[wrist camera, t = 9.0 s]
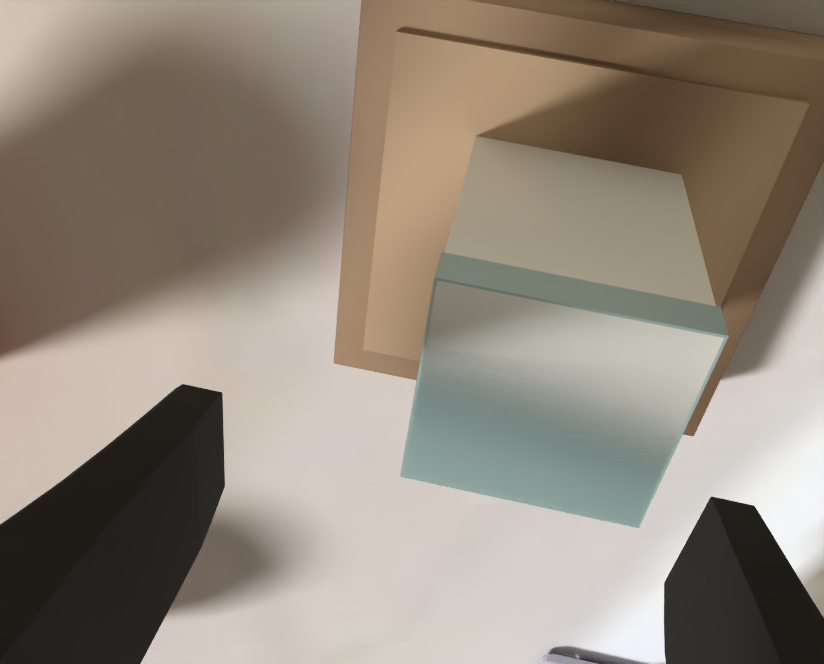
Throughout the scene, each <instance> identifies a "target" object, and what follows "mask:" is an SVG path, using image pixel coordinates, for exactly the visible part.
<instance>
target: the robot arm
mask: <svg viewBox="0 0 824 664" xmlns="http://www.w3.org/2000/svg"><path fill="white" fill-rule="evenodd" d="M224 487H225V477H224V440H223V402H222V392H217V391H212V390H208V389H203V388H198V387H194V386H189V385H184V384H182V385H181V386H179V387H177V388H176V389H174V390H173V391H172V392H171V393H170V394H169V395H167V396H166V397H165V398H164V399H163V400H161V401H160V402H159V403H158V404H157V405H156V406H154V407H153V408H152V409H151V410H150V411H148V412H147V413H146V414H145V415H144V416H143V417H141V418H140V419H139V420H138V421H137V422H135V423H134V424H133V425H132V426H131V427H129V428H128V429H127V430H126V431H124V432H123V433H122V434H121V435H120V436H118V437H117V438H116V439H115V440H113V441H112V442H111V443H110V444H109V445H107V446H106V447H105V448H103V449H102V450H101V451H100V452H98V453H97V454H96V455H94V456H93V457H92V458H91V459H89V460H88V461H87V462H86V463H84V464H83V465H82V466H80V467H79V468H78V469H77V470H75V471H74V472H73V473H71V474H70V475H69V476H68V477H66V478H65V479H64V480H62V481H61V482H60V483H58V484H57V485H56V486H54V487H53V488H51V489H50V490H49V491H47V492H46V493H44V494H43V495H41V496H40V497H39V498H37V499H36V500H34V501H33V502H32V503H30V504H29V505H27V506H26V507H25V508H23V509H22V510H20V511H19V512H18V513H16V514H15V515H13V516H12V517H10V518H9V519H8V520H6V521H5V522H3V523H2V524H0V664H140V663H141V661H142V659H143V657H144V656H145V654H146V652H147V650H148V648H149V646H150V644H151V642H152V640H153V639H154V637H155V635H156V633H157V631H158V629H159V627H160V625H161V623H162V622H163V620H164V618H165V616H166V614H167V612H168V610H169V608H170V606H171V605H172V603H173V601H174V599H175V597H176V595H177V593H178V591H179V589H180V588H181V586H182V584H183V582H184V580H185V578H186V576H187V574H188V572H189V570H190V568H191V566H192V565H193V563H194V561H195V559H196V557H197V555H198V553H199V551H200V549H201V547H202V544H203V542H204V539H205V537H206V534H207V532H208V529H209V527H210V524H211V522H212V519H213V516H214V514H215V511H216V508H217V506H218V503H219V500H220V497H221V495H222V492H223V489H224ZM664 636H665V658H666V664H824V618H823V616H822V615H821V613H820V612H819V610H818V608H817V607H816V605H815V604H814V602H813V601H812V599H811V597H810V596H809V594H808V592H807V591H806V589H805V588H804V586H803V584H802V583H801V581H800V579H799V578H798V576H797V575H796V573H795V571H794V570H793V568H792V566H791V565H790V563H789V562H788V560H787V558H786V557H785V555H784V553H783V552H782V550H781V548H780V547H779V545H778V544H777V542H776V540H775V539H774V537H773V535H772V534H771V532H770V531H769V529H768V527H767V526H766V524H765V522H764V521H763V519H762V518H761V516H760V514H759V513H758V511H757V510H756V508H755V506H753V505H748V504H743V503H739V502H734V501H729V500H725V499H720V498H715V497H711V498H710V499H709V501H708V503H707V505H706V507H705V509H704V511H703V512H702V514H701V516H700V518H699V520H698V522H697V523H696V525H695V527H694V529H693V531H692V533H691V535H690V536H689V538H688V540H687V542H686V544H685V546H684V548H683V549H682V551H681V553H680V555H679V557H678V559H677V560H676V562H675V564H674V566H673V568H672V570H671V572H670V573H669V575H668V577H667V579H666V581H665V583H664ZM540 664H598V663H593V662H589V661H584V660H580V659H575V658H571V657H566V656H562V655H557V654H548V655H545V656H544V657H543V658H542V659H541V662H540Z"/></svg>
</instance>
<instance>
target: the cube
mask: <svg viewBox="0 0 824 664" xmlns="http://www.w3.org/2000/svg"><path fill="white" fill-rule="evenodd" d="M728 337H729V335H728V331H727V327H726V324H725V320H724V316H723V313H722V309H721V307H718V306H716V304H715V300H714V296H713V293H712V289H711V285H710V281H709V277H708V274H707V270H706V266H705V262H704V258H703V254H702V251H701V247H700V243H699V239H698V235H697V231H696V228H695V224H694V220H693V216H692V212H691V209H690V205H689V201H688V197H687V193H686V189H685V186H684V182H683V178H682V175H681V174H676V173H671V172H665V171H660V170H655V169H649V168H644V167H639V166H633V165H628V164H623V163H618V162H612V161H607V160H602V159H596V158H591V157H586V156H580V155H575V154H570V153H565V152H559V151H554V150H549V149H543V148H538V147H533V146H527V145H522V144H517V143H512V142H506V141H501V140H496V139H490V138H485V137H480V136H476V137H475V141H474V145H473V148H472V152H471V156H470V160H469V163H468V167H467V171H466V175H465V178H464V182H463V186H462V189H461V193H460V197H459V201H458V204H457V208H456V212H455V216H454V219H453V223H452V227H451V231H450V234H449V238H448V242H447V246H446V249H445V252H441V255H440V259H439V263H438V266H437V270H436V274H435V277H434V283H433V289H432V295H431V300H430V306H429V312H428V318H427V324H426V330H425V335H424V341H423V347H422V353H421V359H420V364H419V370H418V376H417V382H416V388H415V394H414V399H413V405H412V411H411V417H410V423H409V428H408V434H407V440H406V446H405V452H404V458H403V463H402V469H401V475H400V477H404V478H409V479H413V480H418V481H423V482H427V483H432V484H437V485H441V486H446V487H450V488H455V489H460V490H464V491H469V492H474V493H478V494H483V495H488V496H492V497H497V498H501V499H506V500H511V501H515V502H520V503H525V504H529V505H534V506H538V507H543V508H548V509H552V510H557V511H562V512H566V513H571V514H575V515H580V516H585V517H589V518H594V519H599V520H603V521H608V522H612V523H617V524H622V525H626V526H631V527H636V528H639V526H640V524H641V522H642V520H643V518H644V516H645V514H646V511H647V509H648V507H649V505H650V503H651V501H652V499H653V497H654V494H655V492H656V490H657V488H658V486H659V484H660V482H661V480H662V477H663V475H664V473H665V471H666V469H667V467H668V465H669V462H670V460H671V458H672V456H673V454H674V452H675V450H676V448H677V445H678V443H679V441H680V439H681V437H682V435H683V433H684V431H685V428H686V426H687V424H688V422H689V420H690V418H691V416H692V413H693V411H694V409H695V407H696V405H697V403H698V401H699V399H700V396H701V394H702V392H703V390H704V388H705V386H706V384H707V382H708V379H709V377H710V375H711V373H712V371H713V369H714V367H715V365H716V362H717V360H718V358H719V356H720V354H721V352H722V350H723V347H724V345H725V343H726V341H727V339H728Z"/></svg>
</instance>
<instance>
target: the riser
mask: <svg viewBox="0 0 824 664" xmlns="http://www.w3.org/2000/svg"><path fill="white" fill-rule="evenodd" d="M476 136H480V137H485V138H490V139H496V140H501V141H506V142H512V143H517V144H522V145H527V146H533V147H538V148H543V149H549V150H554V151H559V152H565V153H570V154H575V155H580V156H586V157H591V158H596V159H602V160H607V161H612V162H618V163H623V164H628V165H633V166H639V167H644V168H649V169H655V170H660V171H665V172H671V173H676V174H681V175H682V178H683V182H684V186H685V189H686V193H687V197H688V201H689V205H690V209H691V212H692V216H693V220H694V224H695V228H696V231H697V235H698V239H699V243H700V247H701V251H702V254H703V258H704V262H705V266H706V270H707V274H708V277H709V281H710V285H711V289H712V293H713V296H714V300H715V304H716V306H718V307H721V309H722V313H723V316H724V320H725V324H726V327H727V331H728V335H729V337H728V339H727V341H726V343H725V345H724V347H723V350H722V352H721V354H720V356H719V358H718V360H717V362H716V365H715V367H714V369H713V371H712V373H711V375H710V377H709V379H708V382H707V384H706V386H705V388H704V390H703V392H702V394H701V396H700V399H699V401H698V403H697V405H696V407H695V409H694V411H693V413H692V416H691V418H690V420H689V422H688V424H687V426H686V428H685V431H684V433H683V434H684V435H689V436H694V434H695V432H696V430H697V428H698V426H699V424H700V422H701V420H702V417H703V415H704V413H705V411H706V409H707V407H708V405H709V403H710V400H711V398H712V396H713V394H714V392H715V390H716V388H717V386H718V384H719V381H720V379H721V377H722V375H723V373H724V371H725V369H726V367H727V364H728V362H729V360H730V358H731V356H732V354H733V352H734V350H735V348H736V345H737V343H738V341H739V339H740V337H741V335H742V333H743V331H744V328H745V326H746V324H747V322H748V320H749V318H750V316H751V314H752V312H753V309H754V307H755V305H756V303H757V301H758V299H759V297H760V295H761V292H762V290H763V288H764V286H765V284H766V282H767V280H768V278H769V276H770V273H771V271H772V269H773V267H774V265H775V263H776V261H777V259H778V256H779V254H780V252H781V250H782V248H783V246H784V244H785V242H786V240H787V237H788V235H789V233H790V231H791V229H792V227H793V225H794V223H795V220H796V218H797V216H798V214H799V212H800V210H801V208H802V206H803V204H804V201H805V199H806V197H807V195H808V193H809V191H810V189H811V187H812V184H813V182H814V180H815V178H816V176H817V174H818V172H819V170H820V168H821V165H822V163H823V161H824V37H821V36H815V35H809V34H803V33H797V32H792V31H786V30H780V29H774V28H768V27H762V26H756V25H750V24H744V23H738V22H733V21H727V20H721V19H715V18H709V17H703V16H697V15H691V14H685V13H679V12H673V11H668V10H662V9H656V8H650V7H644V6H638V5H632V4H626V3H620V2H614V1H608V0H362V2H361V15H360V28H359V41H358V54H357V67H356V80H355V93H354V106H353V119H352V132H351V145H350V158H349V171H348V184H347V197H346V210H345V223H344V236H343V249H342V262H341V275H340V288H339V301H338V314H337V327H336V340H335V353H334V363H335V364H340V365H345V366H350V367H355V368H360V369H364V370H369V371H374V372H379V373H384V374H389V375H394V376H399V377H404V378H409V379H414V380H417V376H418V370H419V364H420V359H421V353H422V347H423V341H424V335H425V330H426V324H427V318H428V312H429V306H430V300H431V295H432V289H433V283H434V277H435V274H436V270H437V266H438V263H439V259H440V255H441V252H445V249H446V246H447V242H448V238H449V234H450V231H451V227H452V223H453V219H454V216H455V212H456V208H457V204H458V201H459V197H460V193H461V189H462V186H463V182H464V178H465V175H466V171H467V167H468V163H469V160H470V156H471V152H472V148H473V145H474V141H475V137H476Z"/></svg>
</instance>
